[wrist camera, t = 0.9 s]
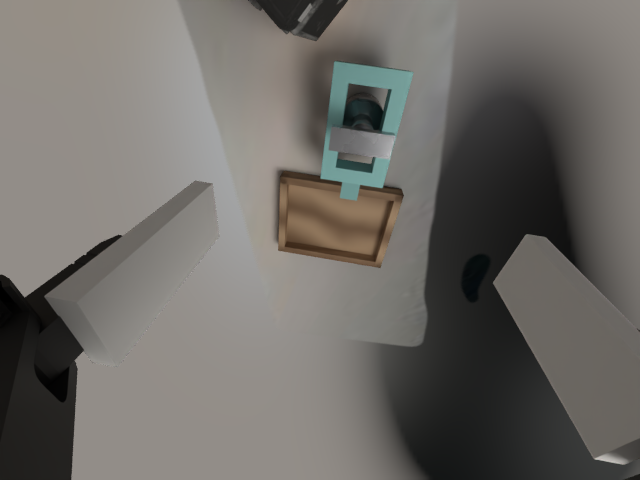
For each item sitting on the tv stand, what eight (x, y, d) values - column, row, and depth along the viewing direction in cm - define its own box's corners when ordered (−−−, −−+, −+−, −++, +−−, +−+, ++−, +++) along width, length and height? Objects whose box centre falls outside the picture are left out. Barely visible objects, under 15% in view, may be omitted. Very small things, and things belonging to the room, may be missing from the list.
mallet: (342, 90, 32) (334, 106, 22) (388, 96, 31) (401, 115, 22) (336, 135, 35) (326, 167, 25) (378, 141, 34) (385, 176, 25)
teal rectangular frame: (336, 60, 26) (334, 61, 24) (408, 70, 26) (413, 72, 23) (321, 184, 33) (318, 194, 31) (376, 193, 33) (378, 204, 31)
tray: (284, 170, 38) (280, 176, 37) (401, 189, 38) (403, 195, 36) (281, 242, 46) (278, 250, 44) (379, 259, 45) (380, 267, 43)
